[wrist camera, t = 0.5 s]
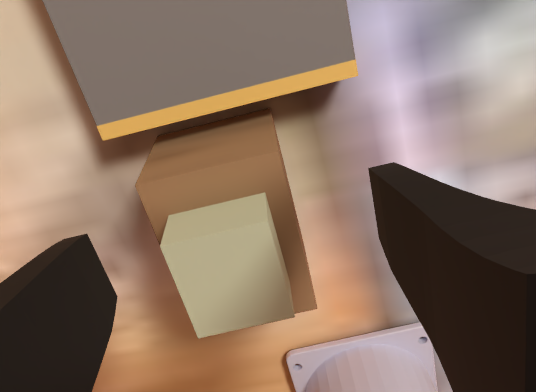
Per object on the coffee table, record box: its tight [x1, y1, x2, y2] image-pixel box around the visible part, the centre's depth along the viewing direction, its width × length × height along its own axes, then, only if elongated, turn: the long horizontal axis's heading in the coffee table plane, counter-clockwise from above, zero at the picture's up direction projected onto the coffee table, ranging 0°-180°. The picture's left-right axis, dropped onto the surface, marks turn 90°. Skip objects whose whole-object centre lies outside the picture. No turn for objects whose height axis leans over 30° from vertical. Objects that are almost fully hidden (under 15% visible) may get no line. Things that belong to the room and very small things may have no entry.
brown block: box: [135, 108, 317, 314], centre depth 20 cm, size 7×5×5 cm
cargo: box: [160, 192, 295, 338], centre depth 17 cm, size 4×4×2 cm
